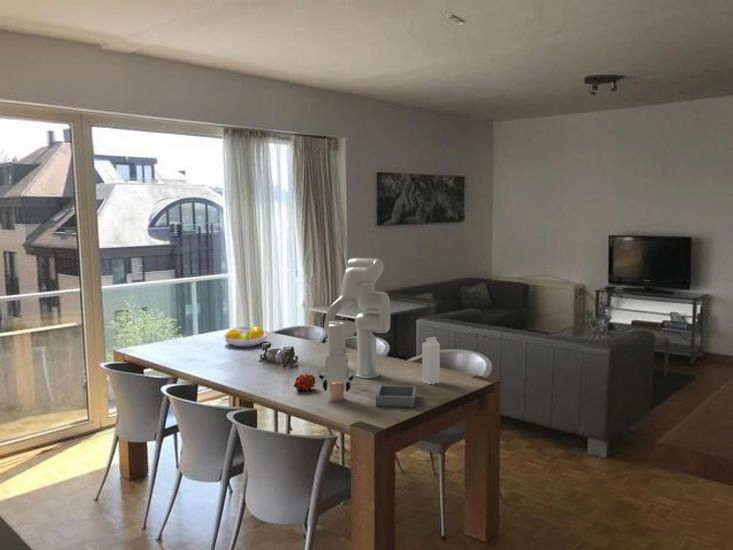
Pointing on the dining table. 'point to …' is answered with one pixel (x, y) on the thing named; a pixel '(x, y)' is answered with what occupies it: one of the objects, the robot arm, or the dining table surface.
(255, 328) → the fruit bowl
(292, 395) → the dining table surface
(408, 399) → the bin
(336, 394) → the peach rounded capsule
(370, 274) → the robot arm
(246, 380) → the dining table surface
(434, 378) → the milk
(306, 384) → the dragon fruit
